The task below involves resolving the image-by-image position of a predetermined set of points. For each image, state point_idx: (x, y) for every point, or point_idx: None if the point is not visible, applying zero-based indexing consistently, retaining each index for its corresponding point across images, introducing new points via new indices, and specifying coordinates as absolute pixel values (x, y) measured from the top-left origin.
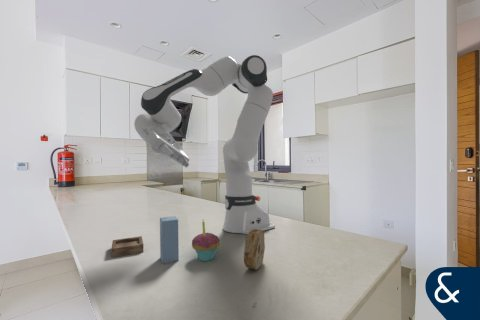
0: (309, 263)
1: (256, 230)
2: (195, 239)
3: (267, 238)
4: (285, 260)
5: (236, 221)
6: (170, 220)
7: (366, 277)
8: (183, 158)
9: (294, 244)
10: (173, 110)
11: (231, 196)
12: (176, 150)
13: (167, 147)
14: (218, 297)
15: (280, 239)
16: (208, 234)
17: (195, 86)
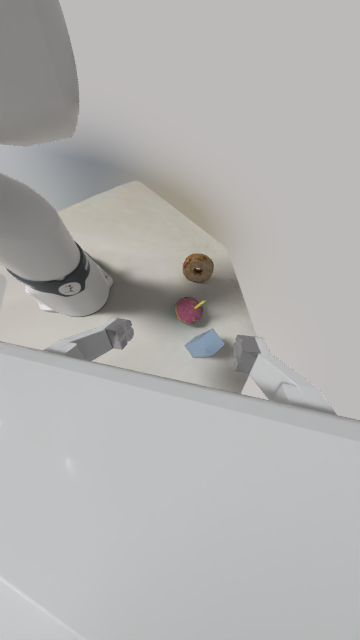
0: (181, 245)
1: (204, 257)
2: (198, 316)
3: (126, 263)
4: (178, 258)
5: (100, 287)
6: (218, 336)
7: (193, 225)
8: (72, 351)
9: (143, 244)
10: None
11: (73, 269)
12: (138, 372)
13: (288, 368)
14: (231, 296)
15: (129, 252)
16: (191, 304)
17: None
